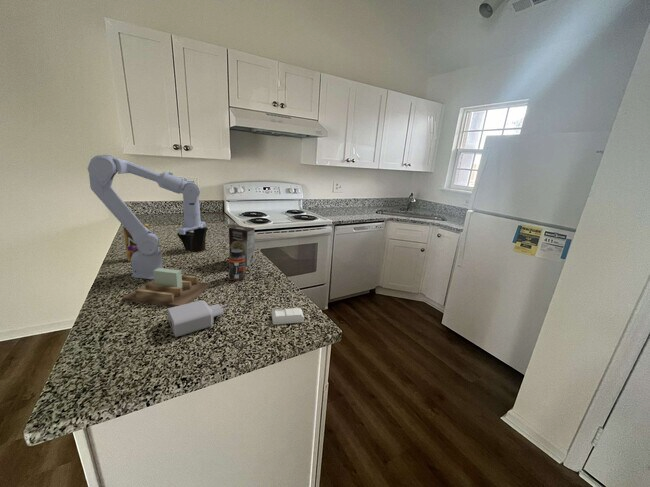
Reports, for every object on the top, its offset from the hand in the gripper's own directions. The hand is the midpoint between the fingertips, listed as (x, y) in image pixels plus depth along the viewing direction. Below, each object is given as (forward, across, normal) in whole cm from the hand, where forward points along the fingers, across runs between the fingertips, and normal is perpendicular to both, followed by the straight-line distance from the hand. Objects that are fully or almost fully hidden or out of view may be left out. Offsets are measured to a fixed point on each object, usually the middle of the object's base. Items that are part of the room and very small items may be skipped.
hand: (194, 247), depth 107 cm
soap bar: (+10, -26, -45) cm, 53 cm away
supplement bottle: (+10, -3, -19) cm, 21 cm away
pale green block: (+8, -20, -3) cm, 22 cm away
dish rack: (+9, -20, -3) cm, 22 cm away
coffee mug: (+10, +24, +13) cm, 29 cm away
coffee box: (+10, +13, -14) cm, 21 cm away
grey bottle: (+10, -33, -22) cm, 41 cm away
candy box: (+10, +4, +28) cm, 30 cm away
